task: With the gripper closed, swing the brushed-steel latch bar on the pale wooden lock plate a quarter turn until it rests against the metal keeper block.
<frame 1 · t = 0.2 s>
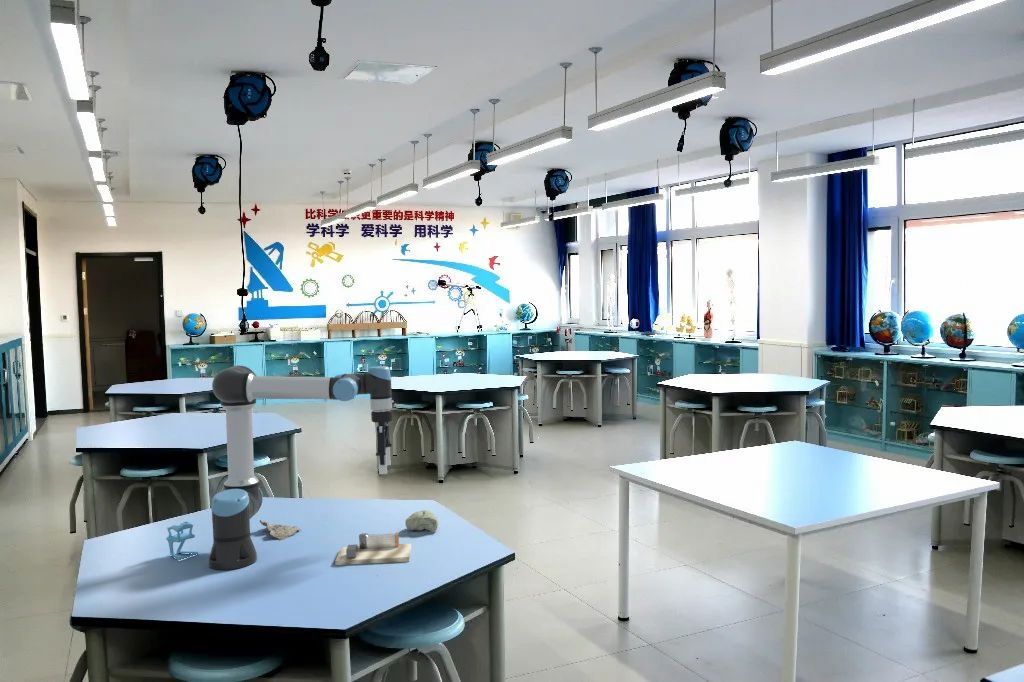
hand: (385, 469, 271), 26 cm above the table, fingers open, 13 cm apart
chair: (181, 557, 263), on the table
dried leaf: (279, 534, 287), on the table
keeper: (352, 555, 255), resting on lock plate
lock plate: (374, 556, 258), on the table
latch bar: (378, 540, 263), point 4 cm above the table, hinge at 0.0°
seashell: (423, 530, 286), on the table
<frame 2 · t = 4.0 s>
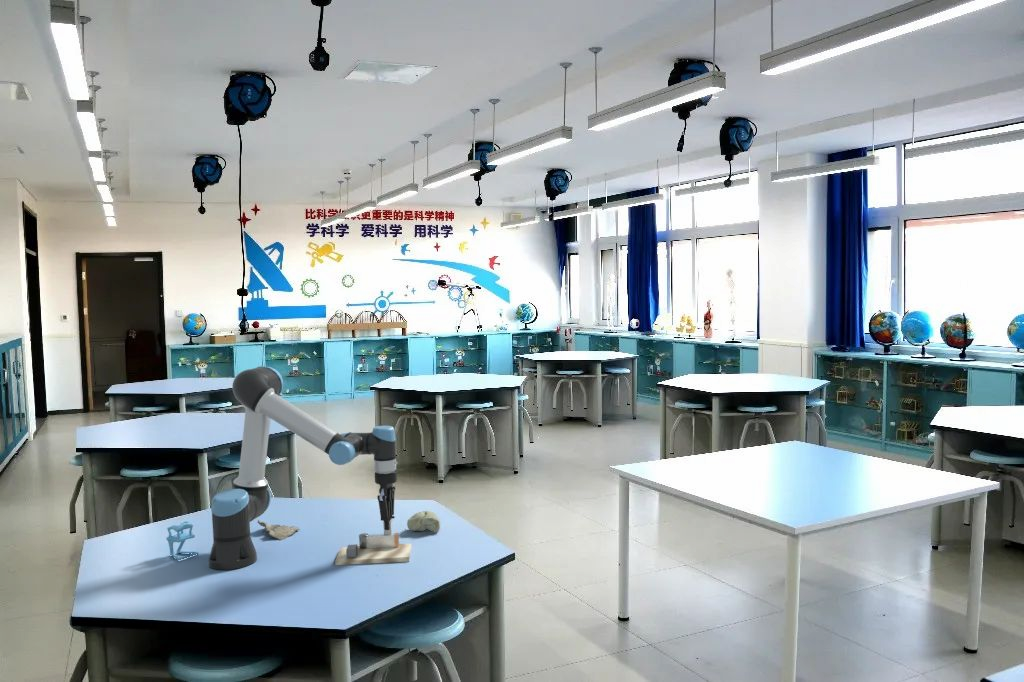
hand: (388, 537, 265), 4 cm above the table, fingers closed
latch bar: (378, 540, 263), point 4 cm above the table, hinge at -2.3°, touching gripper
seashell: (424, 531, 285), on the table
everything else where it was.
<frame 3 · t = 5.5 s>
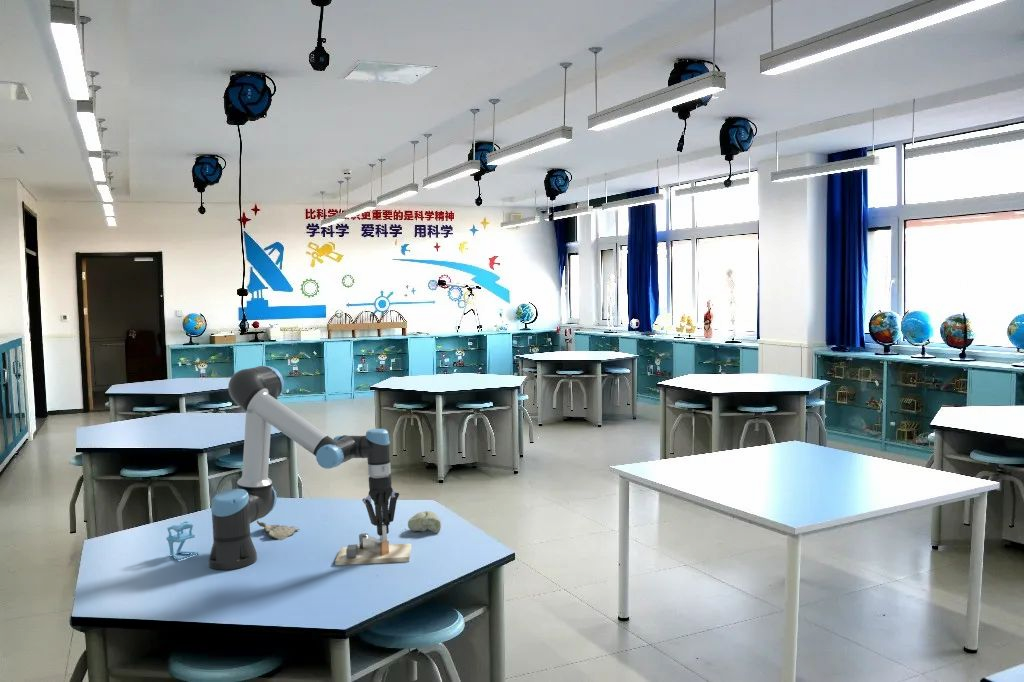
hand: (383, 543, 259), 4 cm above the table, fingers closed
latch bar: (373, 544, 259), point 4 cm above the table, hinge at -46.5°, touching gripper
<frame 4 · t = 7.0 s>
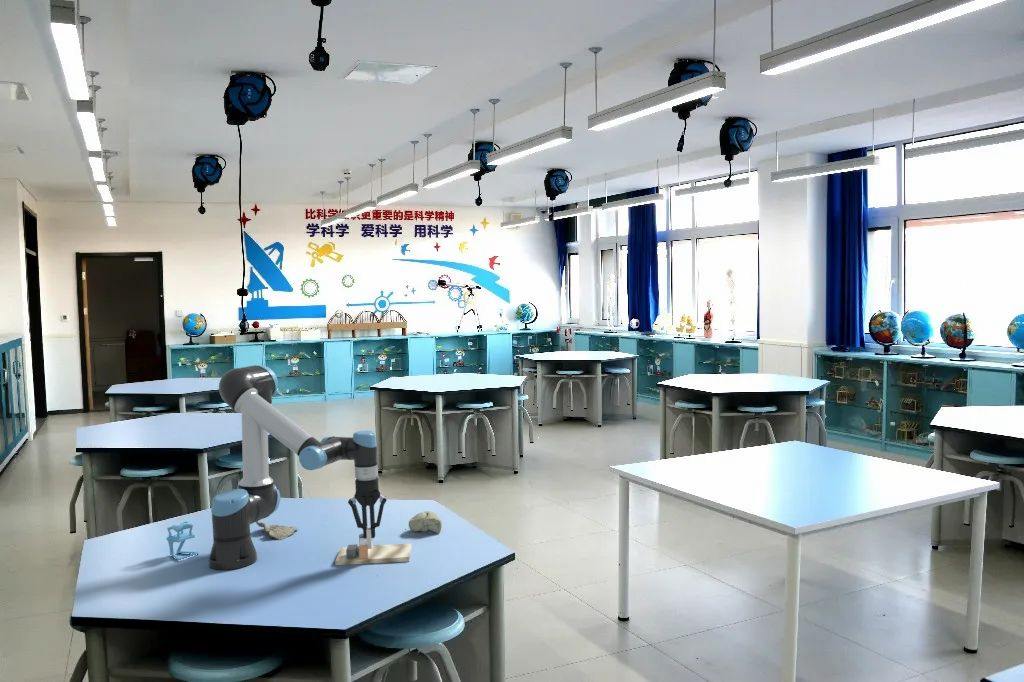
hand: (369, 547, 255), 4 cm above the table, fingers closed
latch bar: (363, 545, 258), point 4 cm above the table, hinge at -83.6°, touching gripper
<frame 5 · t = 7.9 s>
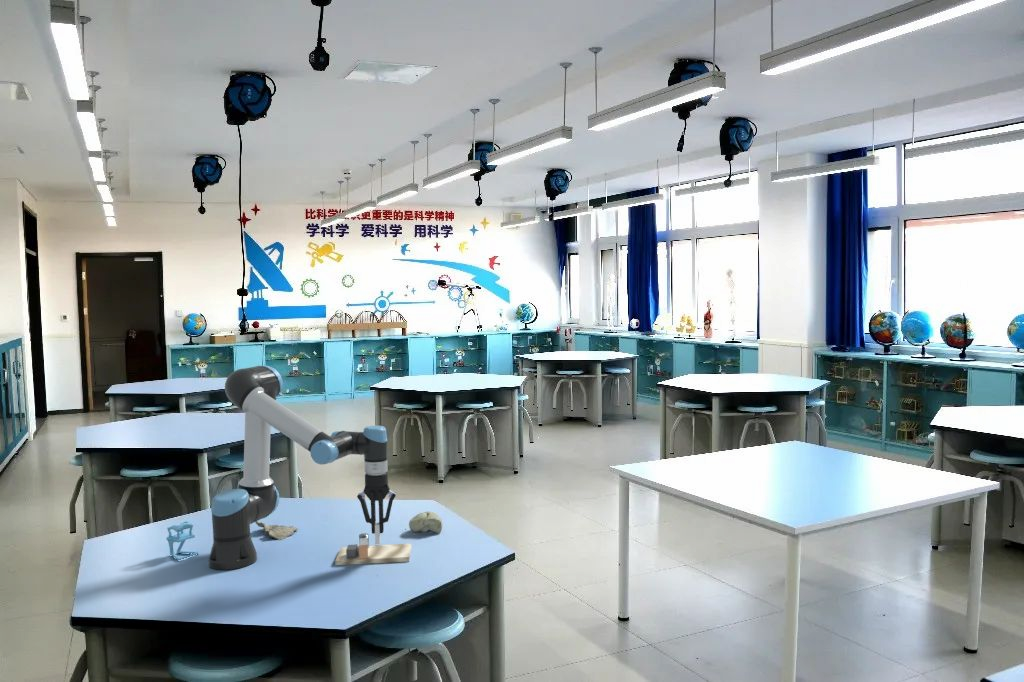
hand: (377, 542, 255), 6 cm above the table, fingers closed
latch bar: (363, 545, 258), point 4 cm above the table, hinge at -83.9°
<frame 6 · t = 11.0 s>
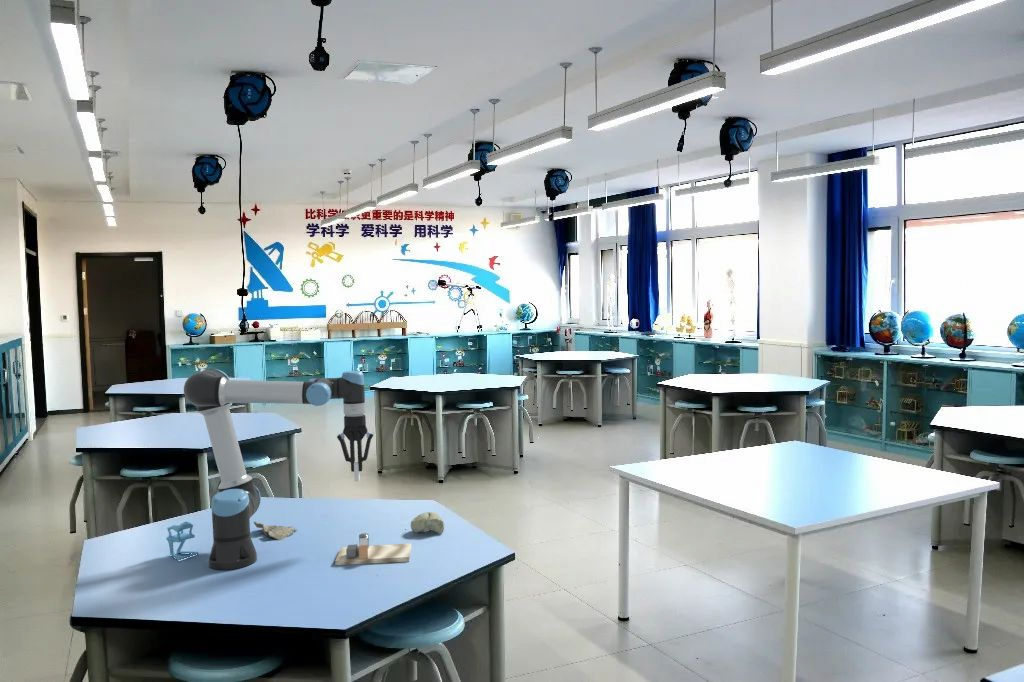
hand: (357, 480, 272), 22 cm above the table, fingers closed
at the end: latch bar at -84° (first picture: +0°); seashell moved 3.5 cm from its start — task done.
